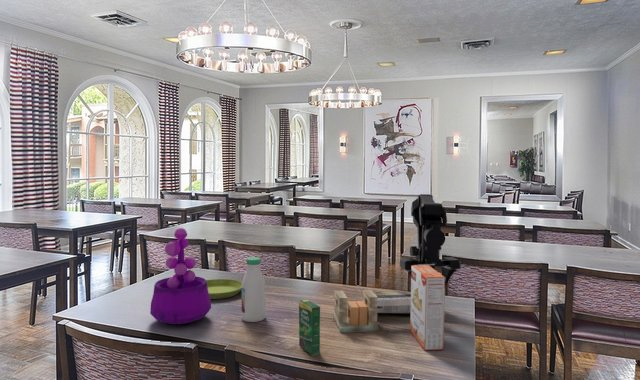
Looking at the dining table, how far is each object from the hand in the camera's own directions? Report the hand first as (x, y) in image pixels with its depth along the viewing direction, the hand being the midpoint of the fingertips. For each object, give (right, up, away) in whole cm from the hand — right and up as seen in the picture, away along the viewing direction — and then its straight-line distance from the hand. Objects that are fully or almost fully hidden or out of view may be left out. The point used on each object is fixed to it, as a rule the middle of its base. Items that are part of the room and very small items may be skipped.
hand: (429, 289), depth 147 cm
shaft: (-9, -8, -1) cm, 12 cm away
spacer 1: (-25, -7, -3) cm, 26 cm away
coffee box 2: (-39, -12, -22) cm, 46 cm away
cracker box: (-5, -12, -15) cm, 20 cm away
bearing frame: (-24, -11, -3) cm, 27 cm away
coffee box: (-20, -6, +8) cm, 22 cm away
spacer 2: (-22, -7, -3) cm, 23 cm away
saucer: (-76, -8, +29) cm, 81 cm away
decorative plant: (-80, -10, -1) cm, 81 cm away
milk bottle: (-57, -10, +1) cm, 58 cm away
